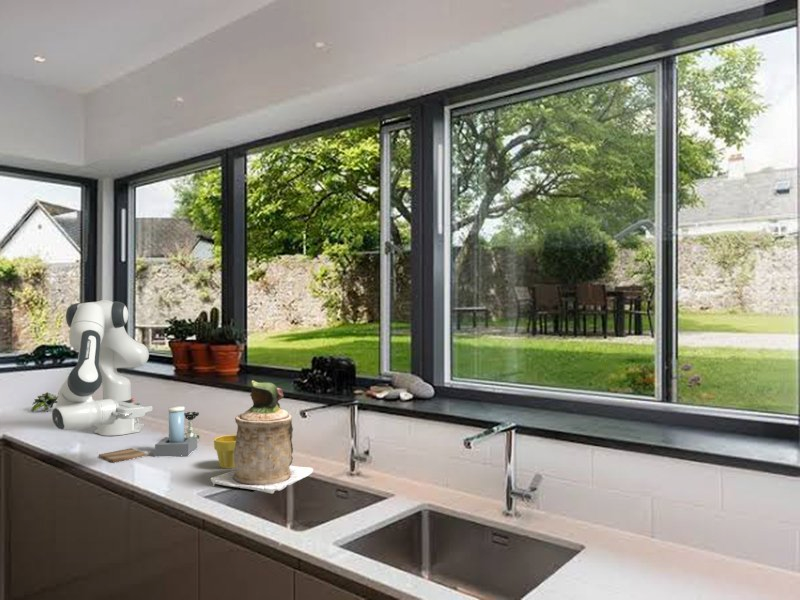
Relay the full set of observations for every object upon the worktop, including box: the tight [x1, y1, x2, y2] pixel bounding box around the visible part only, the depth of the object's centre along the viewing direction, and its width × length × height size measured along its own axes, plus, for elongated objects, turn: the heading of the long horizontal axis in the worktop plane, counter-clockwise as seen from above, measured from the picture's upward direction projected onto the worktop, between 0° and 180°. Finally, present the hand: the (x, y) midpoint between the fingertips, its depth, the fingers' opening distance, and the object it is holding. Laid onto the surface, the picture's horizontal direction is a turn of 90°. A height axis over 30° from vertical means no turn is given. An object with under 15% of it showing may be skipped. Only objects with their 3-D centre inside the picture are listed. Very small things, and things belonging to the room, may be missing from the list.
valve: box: [184, 411, 201, 444], centre depth 242 cm, size 7×7×12 cm
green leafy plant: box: [30, 391, 58, 413], centre depth 310 cm, size 11×11×12 cm
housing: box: [154, 436, 198, 457], centre depth 227 cm, size 12×12×4 cm
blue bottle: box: [167, 405, 186, 443], centre depth 227 cm, size 6×6×17 cm
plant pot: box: [213, 434, 237, 469], centre depth 209 cm, size 10×10×10 cm
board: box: [98, 447, 147, 464], centre depth 221 cm, size 12×12×1 cm
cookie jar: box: [210, 380, 314, 495], centre depth 194 cm, size 25×25×32 cm
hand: (145, 406), depth 218 cm, fingers open, 8 cm apart
